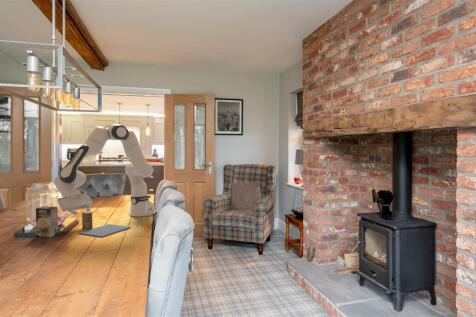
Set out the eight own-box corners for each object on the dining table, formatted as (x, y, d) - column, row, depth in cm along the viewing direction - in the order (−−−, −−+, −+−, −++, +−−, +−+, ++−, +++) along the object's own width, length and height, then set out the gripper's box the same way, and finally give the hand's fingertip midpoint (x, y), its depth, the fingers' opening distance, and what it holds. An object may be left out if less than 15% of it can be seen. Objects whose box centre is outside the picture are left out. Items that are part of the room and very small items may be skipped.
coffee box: (35, 237, 170) (34, 208, 169) (43, 233, 176) (43, 206, 176) (50, 237, 169) (50, 208, 168) (58, 234, 175) (58, 206, 175)
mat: (108, 225, 195) (108, 224, 195) (130, 228, 188) (130, 226, 188) (78, 234, 175) (78, 232, 175) (101, 237, 168) (101, 236, 168)
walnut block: (87, 227, 190) (87, 211, 190) (92, 228, 189) (92, 212, 188) (82, 229, 187) (82, 212, 186) (87, 229, 185) (86, 213, 185)
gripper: (58, 195, 182) (69, 212, 178) (87, 191, 201) (98, 207, 197) (53, 202, 184) (64, 219, 180) (82, 197, 203) (93, 213, 199)
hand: (82, 213), depth 189 cm, fingers open, 8 cm apart
